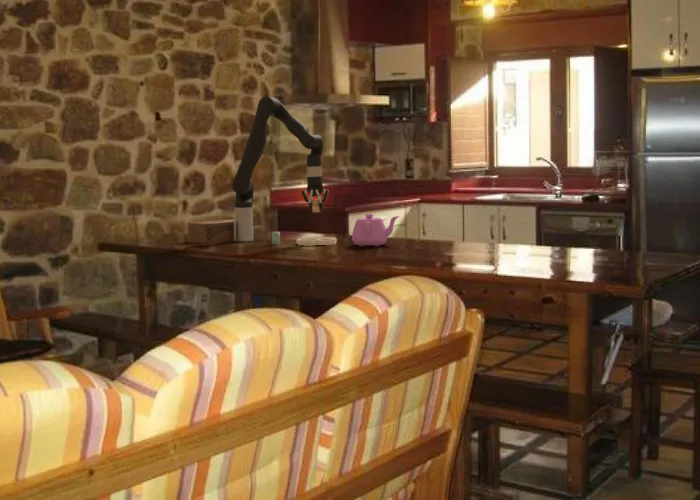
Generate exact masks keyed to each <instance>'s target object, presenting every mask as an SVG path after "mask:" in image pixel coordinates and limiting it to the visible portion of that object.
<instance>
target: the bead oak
mask: <svg viewBox="0 0 700 500" xmlns="http://www.w3.org/2000/svg"><path fill="white" fill-rule="evenodd" d="M319 203H320V202H319V199H313V200H312V211H311V212H312V213H321V211H320V210H319Z"/></svg>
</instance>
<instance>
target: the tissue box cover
mask: <svg viewBox="0 0 700 500" xmlns="http://www.w3.org/2000/svg"><path fill="white" fill-rule="evenodd" d="M234 222H235V219H219V220H218V219H216V220H206V221H195V222H194V221H193V222H188V223H187V228H188V229H187V232H188V235H187V236H188V242H189V243H196V244H214V243H216V244H217V243H223V242H232V241H233V242H235V241H234Z"/></svg>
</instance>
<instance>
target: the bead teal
mask: <svg viewBox="0 0 700 500" xmlns="http://www.w3.org/2000/svg"><path fill="white" fill-rule="evenodd" d="M271 245H273V246H276V245H277V246H279V245H281V232H280V231H272V232H271Z"/></svg>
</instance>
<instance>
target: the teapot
mask: <svg viewBox="0 0 700 500" xmlns="http://www.w3.org/2000/svg"><path fill="white" fill-rule="evenodd" d="M399 217H400V215H399V216H393V217H391V219H390V220H389V221H390V222H389V225H388V227H387V228H386V226H385V223H384V221H383V219H382V218H381V217H374V214H373V213H365V217H360V218H357V219H356V221H355V223H354V226H353V229H352V236H351V239H352V242H353V244H354V245H355V246H358V247H366V246H373V247H380V246H381V245H385V244H386V242H387V240H388V237H389V236H391V235H392V234H393V230H394V225H395V221H396V220H397V219H398V218H399Z"/></svg>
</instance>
